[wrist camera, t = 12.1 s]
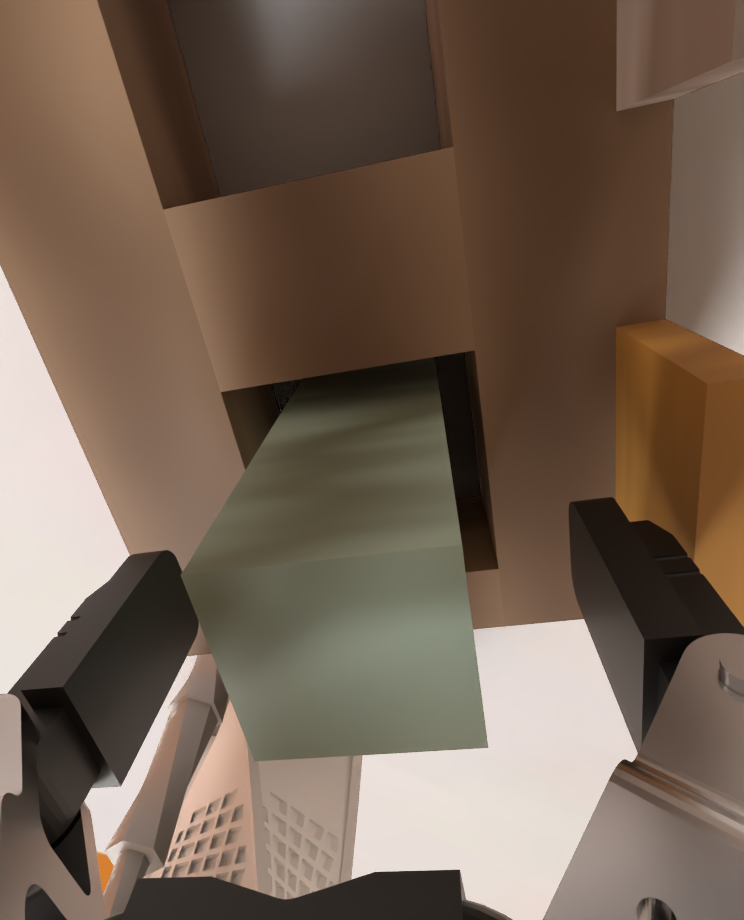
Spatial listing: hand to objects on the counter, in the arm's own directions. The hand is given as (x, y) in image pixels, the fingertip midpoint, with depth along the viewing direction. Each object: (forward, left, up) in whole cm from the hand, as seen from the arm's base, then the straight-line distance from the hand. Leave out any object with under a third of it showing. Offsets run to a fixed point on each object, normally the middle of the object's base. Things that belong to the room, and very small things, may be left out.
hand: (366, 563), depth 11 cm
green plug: (0, 0, -7) cm, 7 cm away
